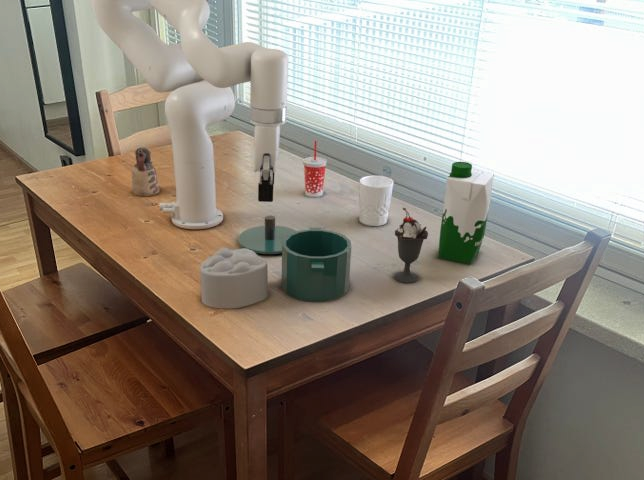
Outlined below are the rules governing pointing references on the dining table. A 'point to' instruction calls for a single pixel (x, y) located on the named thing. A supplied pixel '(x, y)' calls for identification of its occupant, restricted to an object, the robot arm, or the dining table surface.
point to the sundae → (409, 246)
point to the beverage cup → (314, 174)
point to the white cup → (375, 199)
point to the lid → (265, 237)
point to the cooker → (315, 264)
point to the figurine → (144, 174)
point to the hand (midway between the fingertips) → (266, 192)
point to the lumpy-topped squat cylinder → (233, 279)
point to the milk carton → (464, 213)
